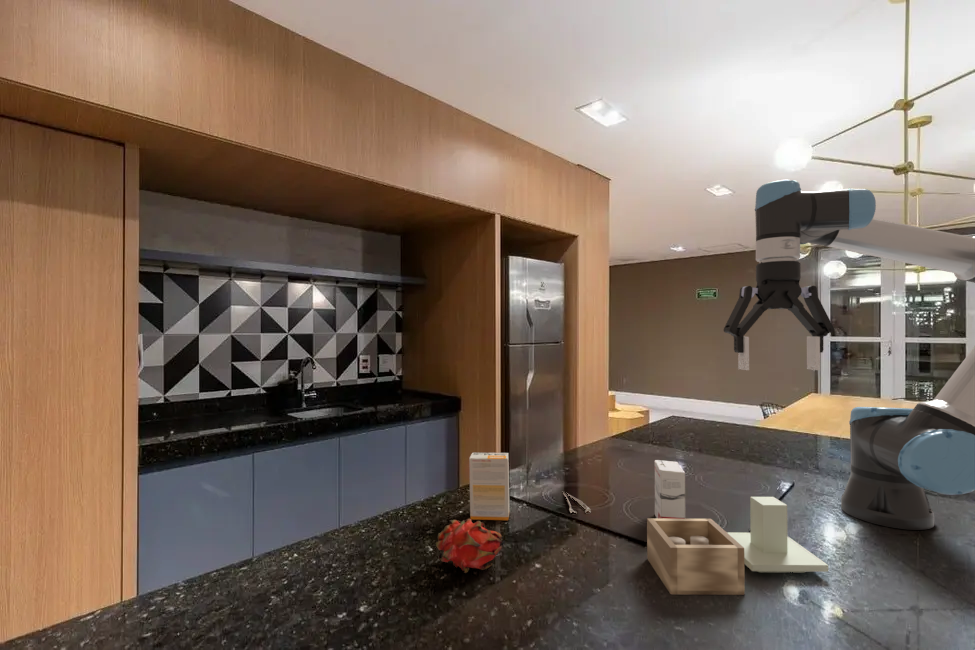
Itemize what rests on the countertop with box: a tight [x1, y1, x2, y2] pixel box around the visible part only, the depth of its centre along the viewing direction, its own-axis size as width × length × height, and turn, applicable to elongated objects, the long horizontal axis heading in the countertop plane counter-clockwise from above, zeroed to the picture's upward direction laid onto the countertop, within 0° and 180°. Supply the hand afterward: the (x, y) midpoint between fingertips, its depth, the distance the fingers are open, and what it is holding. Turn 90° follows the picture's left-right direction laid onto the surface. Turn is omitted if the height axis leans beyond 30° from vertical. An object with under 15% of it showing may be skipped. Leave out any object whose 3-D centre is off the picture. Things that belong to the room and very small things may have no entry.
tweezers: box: [562, 492, 592, 514], centre depth 111 cm, size 17×5×2 cm, turn 7°
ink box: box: [654, 459, 686, 519], centre depth 98 cm, size 9×5×12 cm, turn 168°
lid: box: [726, 496, 829, 574], centre depth 82 cm, size 12×12×10 cm
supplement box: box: [468, 452, 510, 522], centre depth 101 cm, size 8×5×13 cm, turn 84°
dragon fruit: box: [434, 518, 506, 574], centre depth 80 cm, size 8×8×12 cm
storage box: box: [646, 517, 746, 596], centre depth 77 cm, size 11×11×7 cm
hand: (778, 369), depth 94 cm, fingers open, 13 cm apart
